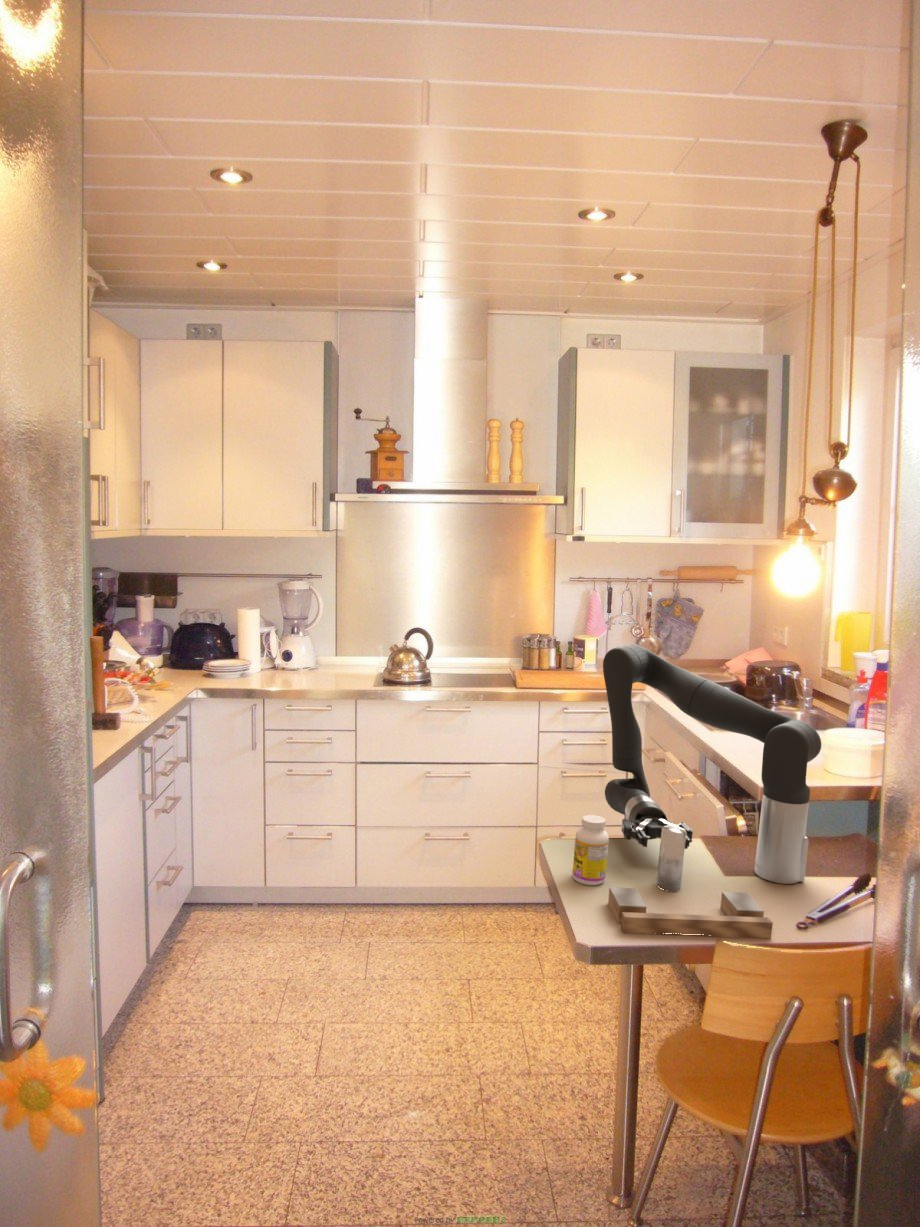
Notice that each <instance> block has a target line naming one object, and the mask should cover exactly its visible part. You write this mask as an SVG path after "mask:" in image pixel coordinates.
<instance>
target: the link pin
mask: <svg viewBox="0 0 920 1227" xmlns="http://www.w3.org/2000/svg"><path fill="white" fill-rule="evenodd" d="M685 841H686V830H685V829H684V828H681V827H678V826H672V825H667V826H663V827H662V832H661V839H660V844H659V854H658V865H657V866H658V867H657V874H656V875H657V876H656V884H657V886H659V887H660V888H662V889H664V890H668V891H677V892H679V891H678V890H680V889H681V888H682V881H683V880H682V878H683V869H684V868H683V867H684V859H685V852H686V851H685ZM657 886H656V887H657ZM664 890H663V891H664ZM681 890H682V889H681ZM681 890H680V891H681ZM668 891H667V892H668Z"/></svg>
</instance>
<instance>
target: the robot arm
mask: <svg viewBox="0 0 920 1227" xmlns="http://www.w3.org/2000/svg"><path fill="white" fill-rule="evenodd" d="M602 672H603V679H604V683H605V685H604V686H605V690H606V696H607V703H608V709H609V715H610V722H611V745H612V746H611V747H612V749H611V750H612V753H611V754H612V756H611V757H612V767H613V768H614V769H616V770H617V771H620V772H627V773H630V774H632V777H631V778H630V777H629V778H616V779H610V781H608V782H607V783H606V785H605V789H604V797H605V800H606V803H607V804H608V806H609V807H610V808H611V809H612V810H614V811H615V812H617V813H619V814H621V815H623V816H625V817H626V818H623V819H622V820H621V821H622V822H621V832H622V834H623V837H624V838H625V839H626V840H627V841H629V840H631V841H632V839H634V841H636V842H637V843H638V845H641V846H642V847H643V848H647V847H648V840H655V839H660V840H661V832H662V827H663V826H667V825H672V826H678V827H681V828H684V829H685V830H686V841H685V849H686V850H687V849H688V847H690V843H692V842H693V833H694V831H693V829H692V828H691V827H690V826H689V825H688V824H687V823H686V822H684V821H679V822H678V824H674V823H673V822H671V821H669V820H668V818H667V815H666V813H665V812H664V811H663V810H662V809H661V807H660V806H659V805H658V804H657V802H656V801H654V800H653V799H652V798H651V792H650V788H649V785H648V782H647V779H646V775H645V770H644V765H643V742H642V741H643V738H642V734H641V733H642V732H641V728H640V725H639V722H638V719H637V718H636V714H635V712H634V708H633V701H632V693H633V691H632V690H633V684H636V683H641V684H644V685H646V686H649V687H651V688H654V689H655V690H658V691H660V692H661V693H663V694H664V695H666V696H667V697H668V698H669V699H670V700H671V701H672V703H673V704H674V705H675V706H676V707H677V708H678V709H679V710H680V711H682V712H683V713H684V714H686V715H687V716H689V717H691V718H694V719H695V720H697V721H699V722H701V723H703V724H705V725H707V726H710V727H713V728H716V729H718V730H722V731H727V732H732V733H734V734H739V735H743V736H748V737H751V738H752V739H755V740H757V741H759V742H761V743H763V750H762V762H761V763H762V764H761V783H762V785H763V787H762V788H763V790H762V800H761V808H760V809H761V810H760V817H759V825H758V826H759V827H758V836H757V844H756V845H757V846H756V851H755V861H754V874H756V875H757V876H758V877H760V878H761V879H764V880H766V881H769V882H771V883H777V884H783V885H787V884H788V885H791V884H797V883H800V882H805V874H806V867H807V866H806V865H807V858H808V849H809V841H810V840H809V837H808V836H807V835H806V832H807V831H806V830H807V823H808V813H809V804H810V799H811V798H810V796H811V790H810V787H809V786H808V785H807V771H808V770H807V769H808V763H810V762H811V761H813V760H814V759H815V758H816V757H818V755H819V754H820V753H821V750H822V739H821V737H820V734H819V732H817V730H816V729H815V728H814V727H813V726H812V725H810V724H809V723H807V722H805V721H803V720H800V719H797V718H794V717H792V716H788V715H786V714H782V713H780V712H777V711H774V710H772V709H768V708H766V707H764V706H763V705H760V704H758V703H756V702H754V701H752V700H750V699H748V698H747V697H745V696H743V695H741V694H739V693H736V692H735V691H732V690H730V689H728V688H726V687H724V686H723V685H721V684H719V683H716V682H714V681H712V680H710V679H707V678H705V677H703V676H700V675H697V674H696V673H694V672H691V671H689V670H686V669H685V668H682V667H680V666H677V665H675V664H674V663H671V662H670V661H668V660H665V659H664V658H663V657H661V656H659V655H657V654H655V653H654V652H653V651H651V650H649V649H648V648H646V647H644V646H642V645H639V644H636V643H635V644H634V643H629V644H624V645H621V646H617V647H614V648H612V649H611V648H610V649H609V650H608V651H607V652H606V654H605V655H604V658H603V661H602Z"/></svg>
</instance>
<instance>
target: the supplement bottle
mask: <svg viewBox="0 0 920 1227" xmlns="http://www.w3.org/2000/svg"><path fill="white" fill-rule="evenodd" d="M581 818H582V819H581V825H582V827H580V828H578V829H577V831H575V842H574V853H573V862H572V863H573V864H572V878H573V879H574V881H576V882H577V883H579V884H582V885H585V886H597V885H601V884H603V883H604V882H605V880H606V874H607V873H606V872H607V862H608V861H607V860H608V853H609V852H608V851H609V839H610V836H609V834H608V832H607V831H606V830H605V827H606V819H605V818H604V817H602V816H599V815H595V814H586V815H583V816H582V817H581Z"/></svg>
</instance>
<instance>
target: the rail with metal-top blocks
mask: <svg viewBox="0 0 920 1227" xmlns="http://www.w3.org/2000/svg"><path fill="white" fill-rule="evenodd" d="M608 891H609V892H608V901H607V904H608V906H609V908H610V910H611V913H612V915H613V916H614V919H615V920H616V922H617V923H618V924H620V929H621V931H622V933H623V934H631V933H633V934H634V933H645V934H644V935H658V934H663V933H664V934H665V933H672V934H673V933H674V934H675V933H677V934H678V933H679V934H680V933H681V934H701V935H702V934H704V935H711V936H710V937H715V936H716V937H717V938H718V937H719V938H744V939H745V938H746V939H747V938H748V939H749V938H751V939H752V938H753V939H772V934H773V933H772V932H773V924H774V922H773V921H772V920H771V919H770V918H769V917H765V916H764V915H765V911H764V909H763V908H762V907H761V906H760V905H759V904H758V903H757V901H755V899H754V898H753V897H752V896H751V895H750V893H749V892H745V891H744V892H743V891H721V900H720V909H721V911H722V912H723V913H724V914H725V915H713V914H712V915H711V914H709V915H707V914H685V913H683V914H681V913H658V912H657V913H653V912H651V913H649V912H647V905H646V904H645V902H644V900H643V898H642V897H641V894H639V892H638V890H637V889H636V887H613V886H609V888H608ZM647 933H648V934H647ZM649 933H650V934H649ZM655 933H656V934H655ZM633 934H632V935H633ZM634 935H635V934H634Z"/></svg>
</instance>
